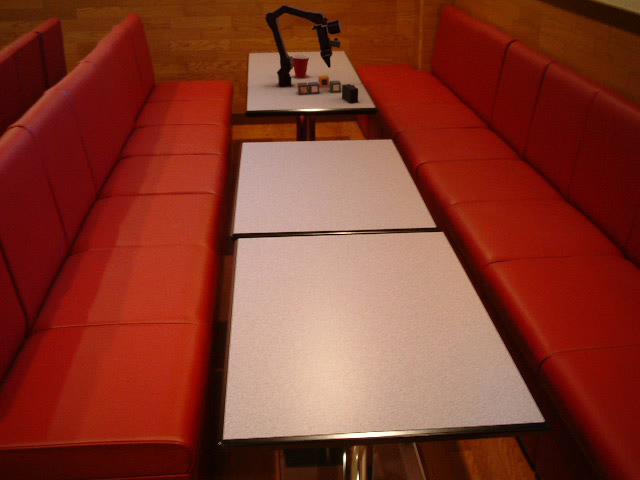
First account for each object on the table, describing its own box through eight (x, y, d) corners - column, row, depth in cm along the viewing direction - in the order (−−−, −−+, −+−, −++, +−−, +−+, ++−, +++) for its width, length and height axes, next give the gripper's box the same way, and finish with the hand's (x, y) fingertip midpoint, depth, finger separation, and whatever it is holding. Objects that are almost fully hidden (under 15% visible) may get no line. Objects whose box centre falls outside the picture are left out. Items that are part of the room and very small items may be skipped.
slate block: (310, 94, 334) (309, 84, 332) (308, 91, 339) (308, 82, 337) (319, 93, 335) (319, 84, 333) (317, 91, 340) (317, 81, 337)
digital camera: (360, 102, 320) (360, 88, 316) (350, 103, 318) (350, 89, 315) (351, 97, 328) (351, 83, 325) (342, 98, 326) (342, 84, 323)
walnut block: (299, 94, 333) (298, 85, 331) (297, 92, 338) (297, 83, 336) (308, 94, 334) (308, 84, 332) (306, 91, 339) (306, 82, 336)
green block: (331, 92, 336) (331, 83, 334) (329, 90, 341) (329, 81, 338) (340, 92, 337) (340, 82, 335) (338, 89, 341) (338, 80, 339)
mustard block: (320, 87, 347) (320, 77, 345) (318, 84, 351) (318, 75, 349) (329, 86, 348) (329, 77, 345) (327, 84, 352) (327, 75, 350)
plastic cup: (313, 77, 367) (313, 56, 361) (298, 80, 362) (297, 58, 356) (303, 73, 375) (303, 52, 369) (288, 76, 370) (287, 55, 364)
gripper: (338, 35, 326) (344, 65, 333) (337, 30, 343) (343, 59, 350) (317, 40, 327) (324, 70, 334) (317, 35, 344) (324, 64, 351)
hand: (329, 66), depth 342 cm, fingers open, 9 cm apart
